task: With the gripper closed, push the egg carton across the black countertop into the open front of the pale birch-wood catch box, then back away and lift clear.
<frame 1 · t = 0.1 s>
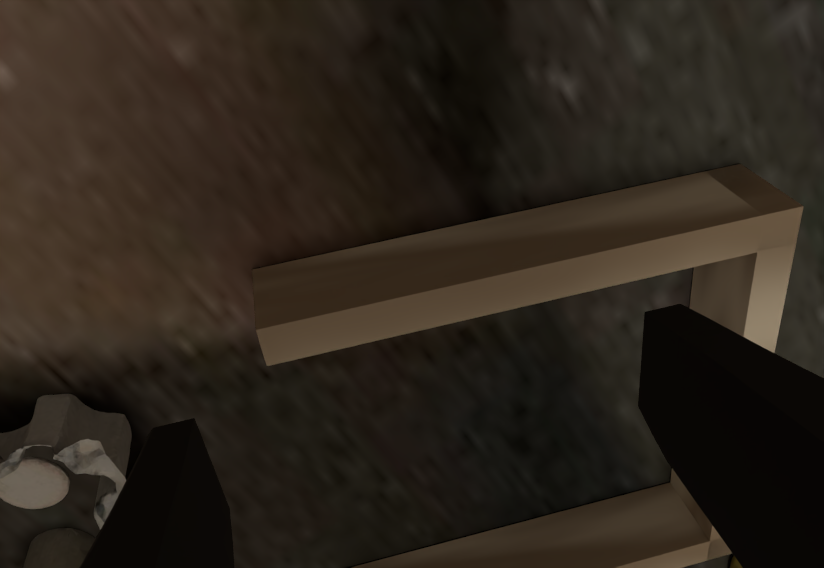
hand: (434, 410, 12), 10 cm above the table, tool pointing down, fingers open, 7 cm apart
catch box: (500, 408, 26), on the table
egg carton: (57, 506, 25), on the table
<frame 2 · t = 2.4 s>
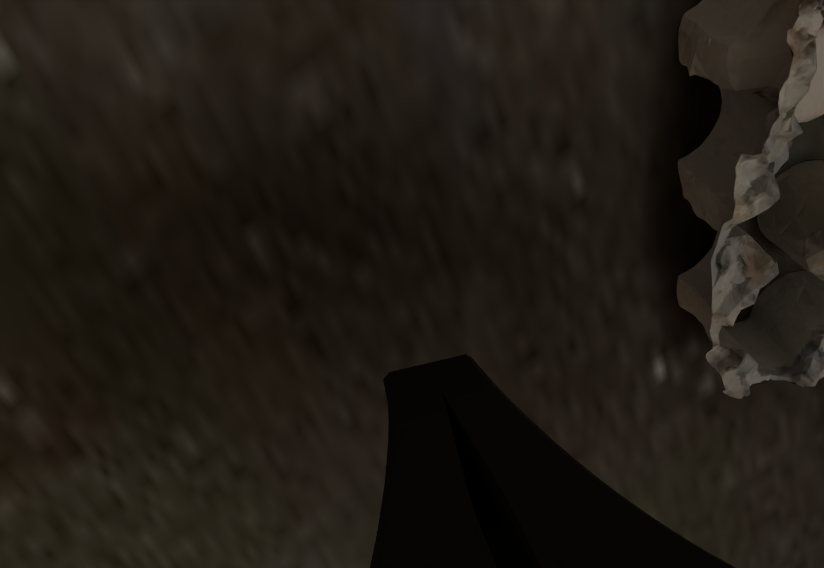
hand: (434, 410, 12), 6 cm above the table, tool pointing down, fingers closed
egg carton: (800, 132, 18), on the table
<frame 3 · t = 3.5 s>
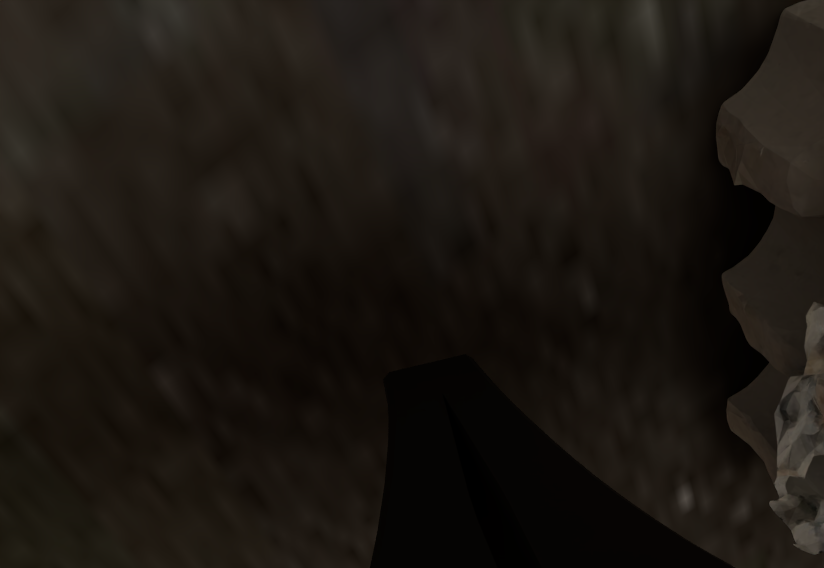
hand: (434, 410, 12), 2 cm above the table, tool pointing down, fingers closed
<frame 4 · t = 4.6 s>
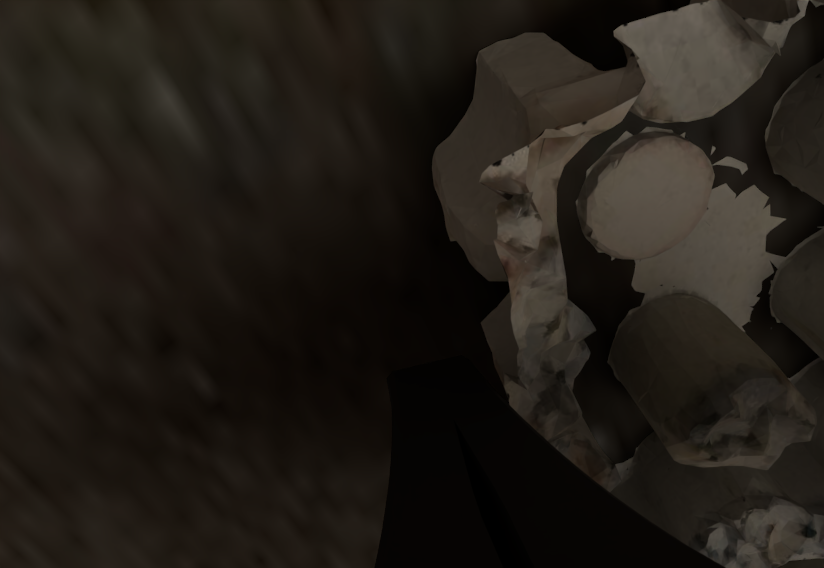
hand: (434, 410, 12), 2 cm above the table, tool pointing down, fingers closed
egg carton: (657, 262, 13), on the table, touching gripper
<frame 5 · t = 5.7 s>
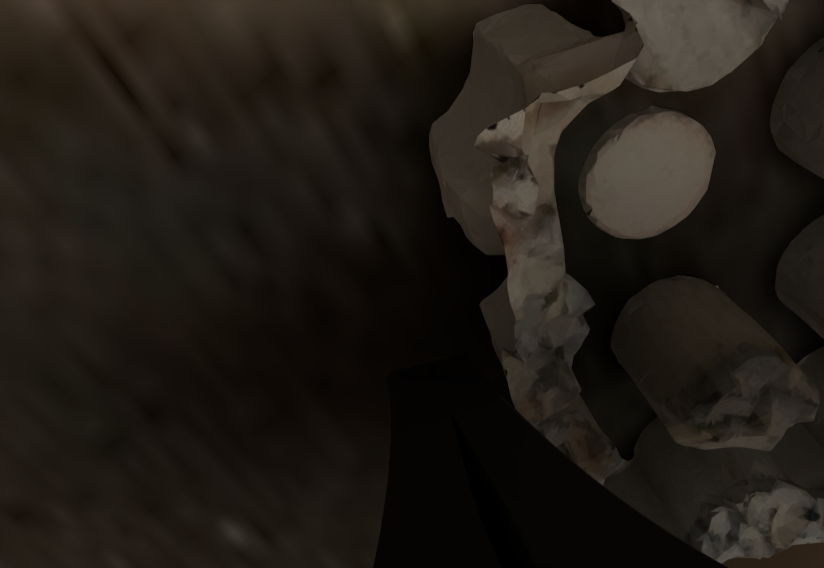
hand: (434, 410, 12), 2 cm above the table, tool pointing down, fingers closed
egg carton: (658, 242, 13), on the table, touching gripper
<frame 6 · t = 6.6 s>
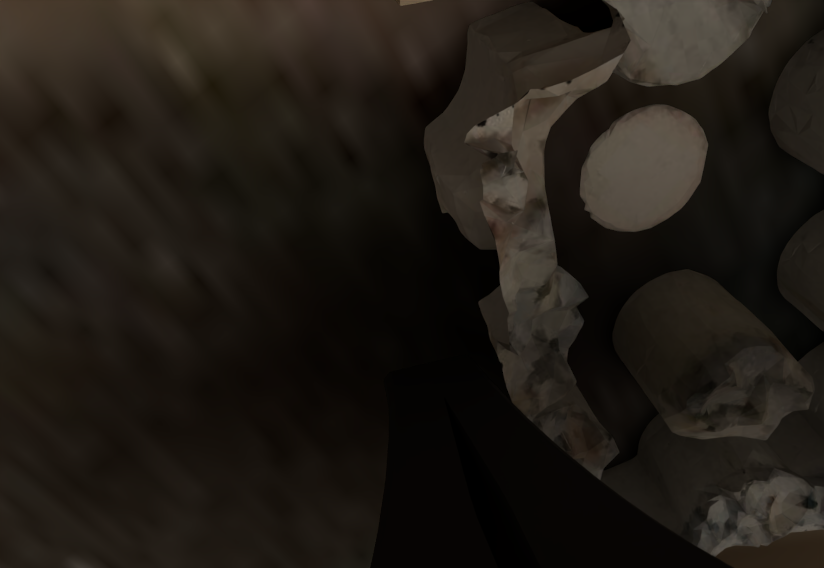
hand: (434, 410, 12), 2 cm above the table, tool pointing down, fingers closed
catch box: (776, 266, 14), on the table
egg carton: (653, 235, 13), on the table
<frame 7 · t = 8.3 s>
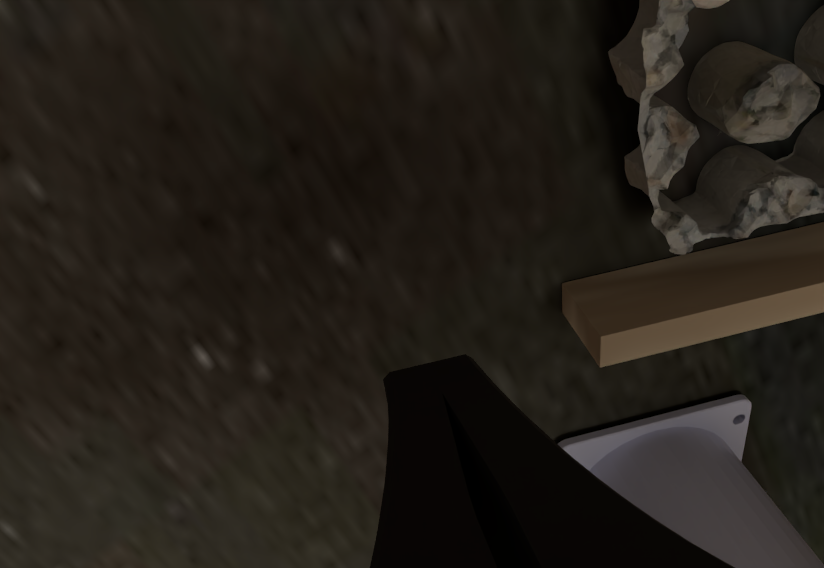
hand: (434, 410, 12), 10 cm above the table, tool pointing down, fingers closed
catch box: (788, 44, 21), on the table
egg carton: (717, 19, 21), on the table
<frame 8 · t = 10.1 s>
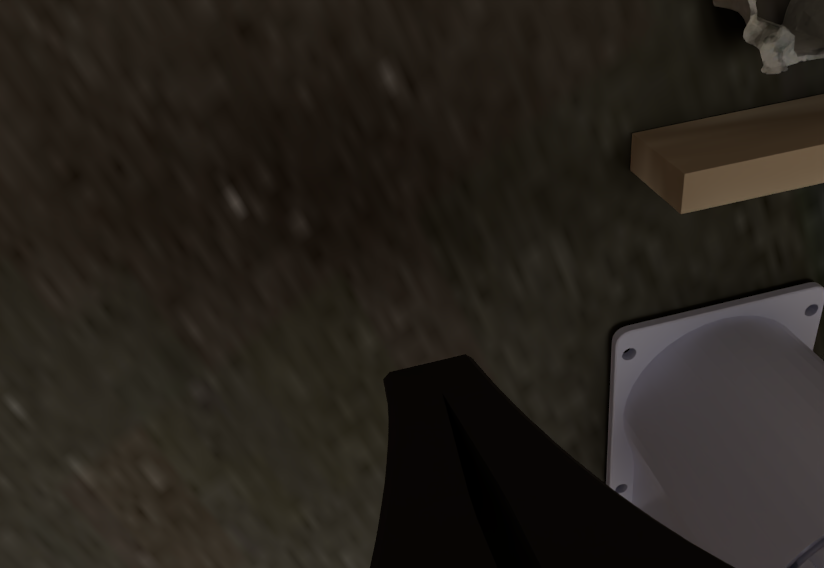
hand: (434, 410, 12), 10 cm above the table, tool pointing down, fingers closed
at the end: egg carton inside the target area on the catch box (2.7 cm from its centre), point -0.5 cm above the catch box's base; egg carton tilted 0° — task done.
